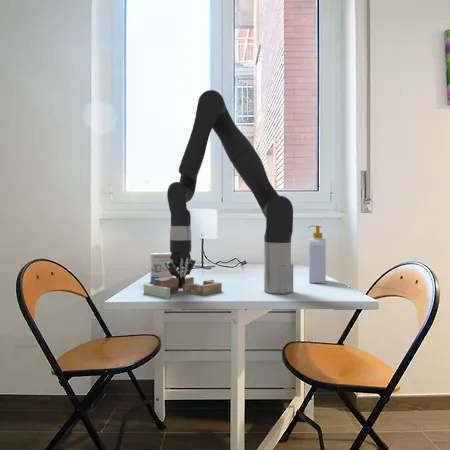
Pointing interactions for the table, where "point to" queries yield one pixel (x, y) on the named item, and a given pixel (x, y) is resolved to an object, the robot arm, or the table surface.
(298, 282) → the table surface
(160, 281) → the walnut block
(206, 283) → the wooden maze walls
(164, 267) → the ink box
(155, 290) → the wall
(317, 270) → the soap bottle
